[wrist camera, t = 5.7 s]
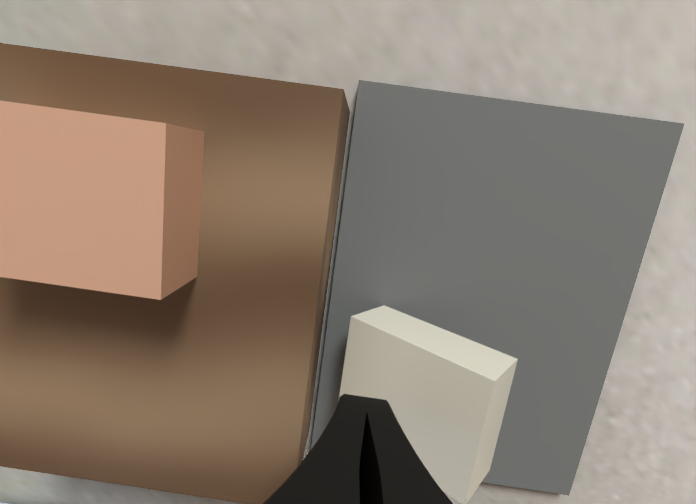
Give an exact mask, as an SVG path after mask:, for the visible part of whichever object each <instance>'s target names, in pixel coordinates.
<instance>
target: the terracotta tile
mask: <svg viewBox="0 0 696 504" xmlns="http://www.w3.org/2000/svg"><path fill="white" fill-rule="evenodd" d="M203 152H204V132H203V131H198V130H194V129H190V128H185V127H181V126H176V125H172V124H167V123H161V122H154V121H146V120H139V119H132V118H124V117H117V116H110V115H103V114H95V113H88V112H81V111H73V110H66V109H59V108H51V107H44V106H37V105H29V104H22V103H15V102H8V101H0V277H5V278H12V279H19V280H26V281H32V282H39V283H46V284H53V285H60V286H67V287H74V288H81V289H88V290H95V291H102V292H109V293H116V294H123V295H130V296H137V297H144V298H151V299H158V300H162V299H163V298H165V297H166V296H168V295H169V294H171V293H173V292H174V291H176V290H177V289H179V288H180V287H182V286H183V285H185V284H186V283H188V282H190V281H191V280H193V279H194V278H196V277H197V271H198V251H199V231H200V211H201V192H202V172H203Z"/></svg>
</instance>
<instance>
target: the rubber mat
mask: <svg viewBox="0 0 696 504" xmlns="http://www.w3.org/2000/svg"><path fill="white" fill-rule="evenodd" d="M683 126H684V124H682V123H675V122H667V121H660V120H652V119H645V118H637V117H630V116H623V115H615V114H608V113H600V112H593V111H585V110H578V109H570V108H563V107H555V106H548V105H541V104H533V103H526V102H518V101H511V100H503V99H496V98H488V97H481V96H474V95H466V94H459V93H451V92H444V91H436V90H429V89H421V88H414V87H406V86H399V85H392V84H384V83H377V82H369V81H362V80H359V85H358V92H357V100H356V108H355V115H354V123H353V130H352V138H351V146H350V153H349V161H348V169H347V176H346V184H345V192H344V199H343V207H342V214H341V222H340V230H339V237H338V245H337V253H336V260H335V268H334V276H333V283H332V291H331V298H330V306H329V314H328V321H327V329H326V337H325V344H324V352H323V359H322V367H321V375H320V382H319V390H318V398H317V405H316V413H315V421H314V428H313V436H312V443H311V449H312V448H313V446H314V445H315V444H316V442H317V441H318V439H319V438H320V436H321V435H322V433H323V431H324V430H325V428H326V426H327V425H328V423H329V421H330V420H331V418H332V416H333V414H334V412H335V410H336V407H337V405H338V401H339V394H340V387H341V380H342V374H343V367H344V360H345V353H346V346H347V339H348V333H349V326H350V319H351V316H353V315H356V314H359V313H362V312H365V311H368V310H371V309H374V308H377V307H380V306H383V305H385V306H387V307H390V308H392V309H395V310H397V311H400V312H402V313H405V314H407V315H410V316H412V317H415V318H417V319H420V320H422V321H425V322H427V323H429V324H432V325H434V326H437V327H439V328H442V329H444V330H447V331H449V332H452V333H454V334H457V335H459V336H462V337H464V338H467V339H469V340H472V341H474V342H477V343H479V344H482V345H484V346H487V347H489V348H492V349H494V350H497V351H499V352H502V353H504V354H507V355H509V356H512V357H514V358H517V359H518V361H517V365H516V369H515V373H514V376H513V380H512V384H511V388H510V392H509V396H508V400H507V404H506V408H505V412H504V416H503V420H502V424H501V428H500V432H499V435H498V439H497V443H496V447H495V451H494V455H493V459H492V463H491V467H490V470H489V472H488V473H487V475H486V476H485V478H484V479H483V480H482V482H483V483H490V484H497V485H503V486H510V487H517V488H523V489H530V490H537V491H543V492H550V493H557V494H564V495H569V493H570V490H571V487H572V484H573V481H574V477H575V474H576V471H577V468H578V464H579V461H580V458H581V455H582V452H583V448H584V445H585V442H586V439H587V435H588V432H589V429H590V426H591V423H592V419H593V416H594V413H595V410H596V406H597V403H598V400H599V397H600V394H601V390H602V387H603V384H604V381H605V377H606V374H607V371H608V368H609V365H610V361H611V358H612V355H613V352H614V348H615V345H616V342H617V339H618V336H619V332H620V329H621V326H622V323H623V319H624V316H625V313H626V310H627V307H628V303H629V300H630V297H631V294H632V291H633V287H634V284H635V281H636V278H637V274H638V271H639V268H640V265H641V262H642V258H643V255H644V252H645V249H646V245H647V242H648V239H649V236H650V233H651V229H652V226H653V223H654V220H655V216H656V213H657V210H658V207H659V204H660V200H661V197H662V194H663V191H664V187H665V184H666V181H667V178H668V175H669V171H670V168H671V165H672V162H673V158H674V155H675V152H676V149H677V146H678V142H679V139H680V136H681V133H682V129H683Z"/></svg>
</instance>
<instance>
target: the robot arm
mask: <svg viewBox="0 0 696 504" xmlns="http://www.w3.org/2000/svg"><path fill="white" fill-rule="evenodd" d="M0 504H10V503H0ZM263 504H453V503H452V502H451V501H450V500H449V498H448V497H447V496H446V495H445V494H444V492H443V491H442V490H441V488H440V487H439V486H438V484H437V483H436V482H435V480H434V479H433V477H432V476H431V475H430V473H429V472H428V470H427V469H426V467H425V466H424V464H423V463H422V461H421V460H420V458H419V457H418V455H417V454H416V452H415V450H414V449H413V447H412V445H411V444H410V442H409V440H408V439H407V437H406V435H405V433H404V432H403V430H402V428H401V426H400V424H399V422H398V421H397V419H396V417H395V415H394V413H393V411H392V408H391V406H390V404H389V403H388V401H387V400H384V399H377V398H370V397H363V396H356V395H349V394H343V395H342V396H340V397H339V402H338V405H337V407H336V410H335V412H334V414H333V416H332V418H331V420H330V421H329V423H328V425H327V426H326V428H325V430H324V431H323V433H322V435H321V436H320V438H319V439H318V441H317V442H316V444H315V445H314V446H313V448H312V449H311V450H310V452H309V453H308V455H307V456H306V457H305V459H304V460H303V461H302V462H301V464H300V465H299V466H298V467H297V468H296V470H295V471H294V472H293V473H292V474H291V475H290V476H289V478H288V479H287V480H286V481H285V482H284V483H283V484H282V485H281V486H280V487H279V488H278V489H277V490H276V491H275V492H274V493H273V494H272V495H271V496H270V497H269V498H268V499H267V500H266V501H265V502H264V503H263Z"/></svg>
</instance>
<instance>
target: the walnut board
mask: <svg viewBox="0 0 696 504" xmlns="http://www.w3.org/2000/svg"><path fill="white" fill-rule="evenodd" d="M0 101H8V102H15V103H22V104H29V105H37V106H44V107H51V108H59V109H66V110H73V111H81V112H88V113H95V114H103V115H110V116H117V117H124V118H132V119H139V120H146V121H154V122H161V123H167V124H172V125H176V126H181V127H185V128H190V129H194V130H198V131H203V132H204V152H203V172H202V192H201V211H200V231H199V251H198V271H197V277H196V278H194V279H193V280H191V281H190V282H188V283H186V284H185V285H183V286H182V287H180V288H179V289H177V290H176V291H174V292H173V293H171V294H169V295H168V296H166V297H165V298H163V299H162V300H158V299H151V298H144V297H137V296H130V295H123V294H116V293H109V292H102V291H95V290H88V289H81V288H74V287H67V286H60V285H53V284H46V283H39V282H32V281H26V280H19V279H12V278H5V277H0V466H2V467H9V468H16V469H22V470H29V471H35V472H42V473H49V474H55V475H62V476H68V477H75V478H82V479H88V480H95V481H101V482H108V483H115V484H121V485H128V486H134V487H141V488H148V489H154V490H161V491H167V492H174V493H181V494H187V495H194V496H200V497H207V498H214V499H220V500H227V501H233V502H240V503H247V504H263V503H264V502H265V501H266V500H267V499H268V498H269V497H270V496H271V495H272V494H273V493H274V492H275V491H276V490H277V489H278V488H279V487H280V486H281V485H282V484H283V483H284V482H285V481H286V480H287V479H288V478H289V476H290V475H291V474H292V473H293V472H294V471H295V470H296V468H297V467H298V466H299V465H300V464H301V462H302V460H303V455H304V450H305V446H306V441H307V437H308V432H309V426H310V418H311V410H312V403H313V395H314V387H315V379H316V371H317V364H318V356H319V348H320V340H321V332H322V325H323V317H324V309H325V301H326V293H327V286H328V278H329V270H330V262H331V254H332V247H333V239H334V231H335V223H336V215H337V208H338V200H339V192H340V184H341V176H342V169H343V161H344V153H345V145H346V137H347V130H348V122H349V114H350V111H349V107H348V104H347V100H346V97H345V93H344V90H343V89H337V88H330V87H323V86H315V85H308V84H300V83H293V82H285V81H278V80H271V79H263V78H256V77H248V76H241V75H234V74H226V73H219V72H211V71H204V70H196V69H189V68H182V67H174V66H167V65H159V64H152V63H144V62H137V61H130V60H122V59H115V58H107V57H100V56H92V55H85V54H78V53H70V52H63V51H55V50H48V49H40V48H33V47H26V46H18V45H11V44H3V43H0Z"/></svg>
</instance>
